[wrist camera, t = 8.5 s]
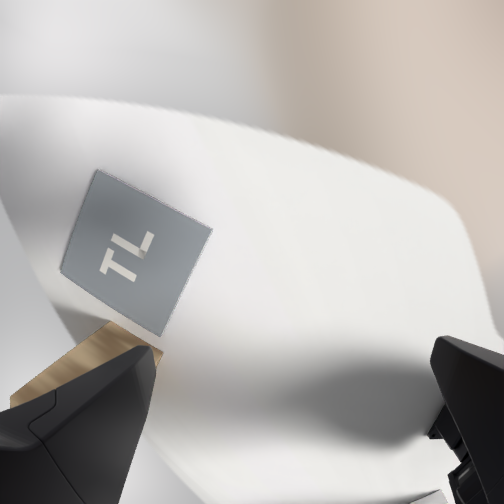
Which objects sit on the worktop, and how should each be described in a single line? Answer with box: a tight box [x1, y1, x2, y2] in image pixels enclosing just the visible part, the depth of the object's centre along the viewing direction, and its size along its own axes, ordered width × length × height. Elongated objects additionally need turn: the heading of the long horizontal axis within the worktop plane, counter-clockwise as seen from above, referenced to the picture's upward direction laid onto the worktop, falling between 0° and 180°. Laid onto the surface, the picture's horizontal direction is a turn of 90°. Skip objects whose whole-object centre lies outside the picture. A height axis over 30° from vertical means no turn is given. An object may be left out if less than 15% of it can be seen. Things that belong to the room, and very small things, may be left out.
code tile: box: [60, 170, 213, 337], centre depth 22 cm, size 10×9×1 cm
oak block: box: [10, 321, 163, 408], centre depth 17 cm, size 5×5×12 cm
